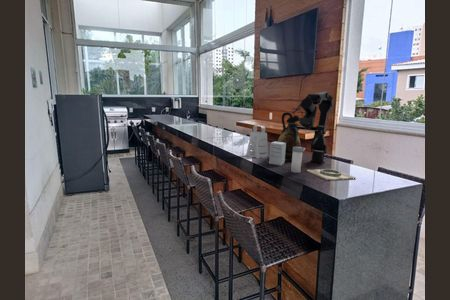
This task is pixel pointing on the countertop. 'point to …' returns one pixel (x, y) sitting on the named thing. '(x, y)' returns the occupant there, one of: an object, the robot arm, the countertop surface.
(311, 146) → the robot arm
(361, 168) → the countertop surface
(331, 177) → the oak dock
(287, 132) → the ceramic jug
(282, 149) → the supplement box
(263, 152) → the grater
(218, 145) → the countertop surface
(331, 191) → the countertop surface
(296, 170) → the cylinder
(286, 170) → the countertop surface
